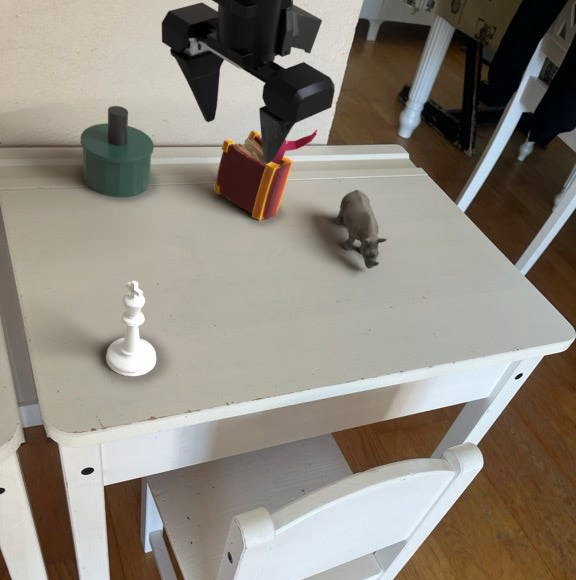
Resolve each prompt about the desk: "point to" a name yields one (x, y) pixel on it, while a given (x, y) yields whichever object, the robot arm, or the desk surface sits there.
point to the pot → (116, 176)
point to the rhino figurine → (360, 226)
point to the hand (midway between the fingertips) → (238, 140)
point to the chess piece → (131, 339)
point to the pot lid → (117, 139)
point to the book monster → (255, 174)
